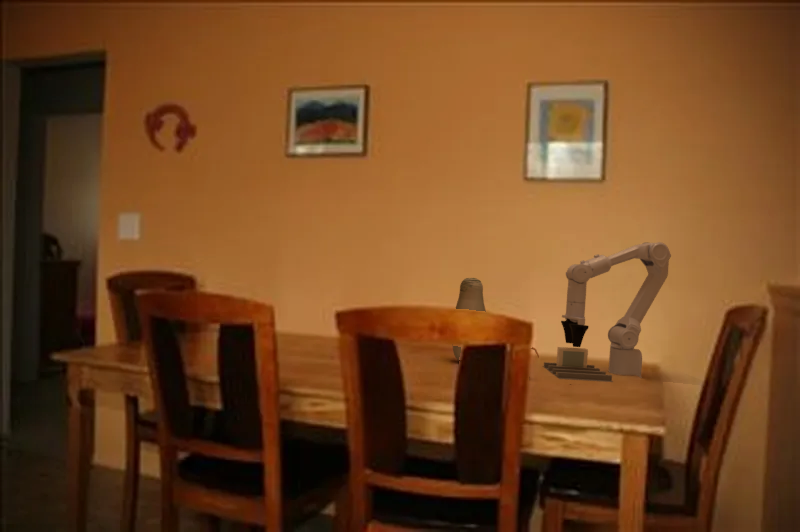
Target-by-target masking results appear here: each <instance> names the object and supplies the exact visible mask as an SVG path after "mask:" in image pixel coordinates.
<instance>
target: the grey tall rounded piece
mask: <svg viewBox="0 0 800 532" xmlns="http://www.w3.org/2000/svg"><path fill="white" fill-rule="evenodd" d="M458 293H459V294H458V299H457V302H456V306H455V308H456V309H469V310H476V311H485V312H486V307H485V301H484V285H483V283H482V281H481V280H480V279H478V278H476V277H466V278H464V279H463V280H462V281H461V282H460V285H459V292H458ZM486 313H487V312H486ZM452 352H453V355H454V357H455V359H456V360H457V361H459V357H460V353H461V347H458V346H453V345H452Z"/></svg>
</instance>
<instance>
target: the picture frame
mask: <svg viewBox="0 0 800 532" xmlns="http://www.w3.org/2000/svg"><path fill="white" fill-rule="evenodd" d="M556 352H557V354H556V363H557V364H556V366H569V367H586V368H587V365H588V358H589V357H588V355H589V350H588V349H587V348H581V347H569V346H568V347H565V346H557V350H556Z"/></svg>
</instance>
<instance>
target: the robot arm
mask: <svg viewBox="0 0 800 532" xmlns="http://www.w3.org/2000/svg"><path fill="white" fill-rule="evenodd" d="M670 251H671V250H670V249H669V246H668V245H667V244H666V243H663V242H661V241H657V242H643V243H638V244H635V245H632V246H630V247H626V248H625V249H623V250H620V251H618V252H616V253H613V254H611V255H608V256H606V255H604V254H595V255H594V256H593V257H591V258H589V259H587V260H580V262H579V264H576V263H575V264H571V265H569V267H568V268H567V270H566V272H565V277H566V279H567V293H566V306H565V313H564V314H562V315H561V318H564V319H565V320H561V321H560V323H561V325H562V329H563V332H564V338H565V343H566V344H572V348H581V346H582V344H583V343H582V342H583V340H584V337H585V334H586V332H587V331H588V329H589V327H590V326H589V325H586V316H585V315H586V314H585V313H586V300H587V299H586V297H587V284H588V281H589V280H590V279H592V278H595V277H597V276H600V275H604V274H606V273H608V272H610V271H611V269H612V267H613V266H615V265H619V264H622V263H625V262H628V261H631V260H634V259H636V260H640V261H641V262H642V264H643V265H644V267H645V268H646V270H647V271H646V272H647V275H646V277H645V280H644V281H643V283H642V284H641V286H640V288H639V289H638V292H637V293H636V295H635V297H634V298H633V300H632V302H631V303H630V305H629V306H628V309H627V311H626V312H625V314H624V316H623V317H621V318H619V319H618V320H617V321H616V323H615V324H614V325H613V326H611V327H610V328H609V330H608V332H607V339H608V341H609V342H610V345H609V358H608V361H609V362H608V373H610V374H614V375H620V376H636V377H639V378H640V379H642V378H643V377H642V367H643V366H642V365H643V353H642V350H640V349H638V348H635V347H636V346H637V345H638V343H639V340H640V339H639V338H640V337H639V336H640V333H641V332H642V327H641V323H642V321H643V319H644V318H645V316H646V314H647V313H648V311H649V309H650V308H651V306H652V305H653V302H654V300H655V298H657V295H658V294H659V292H660V291H661V288H662V287H663V285H664V284H665V282H666V280H667V278H668V276H669V265H670V264H669V263H670V259H671V257H672V254H671V252H670Z"/></svg>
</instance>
